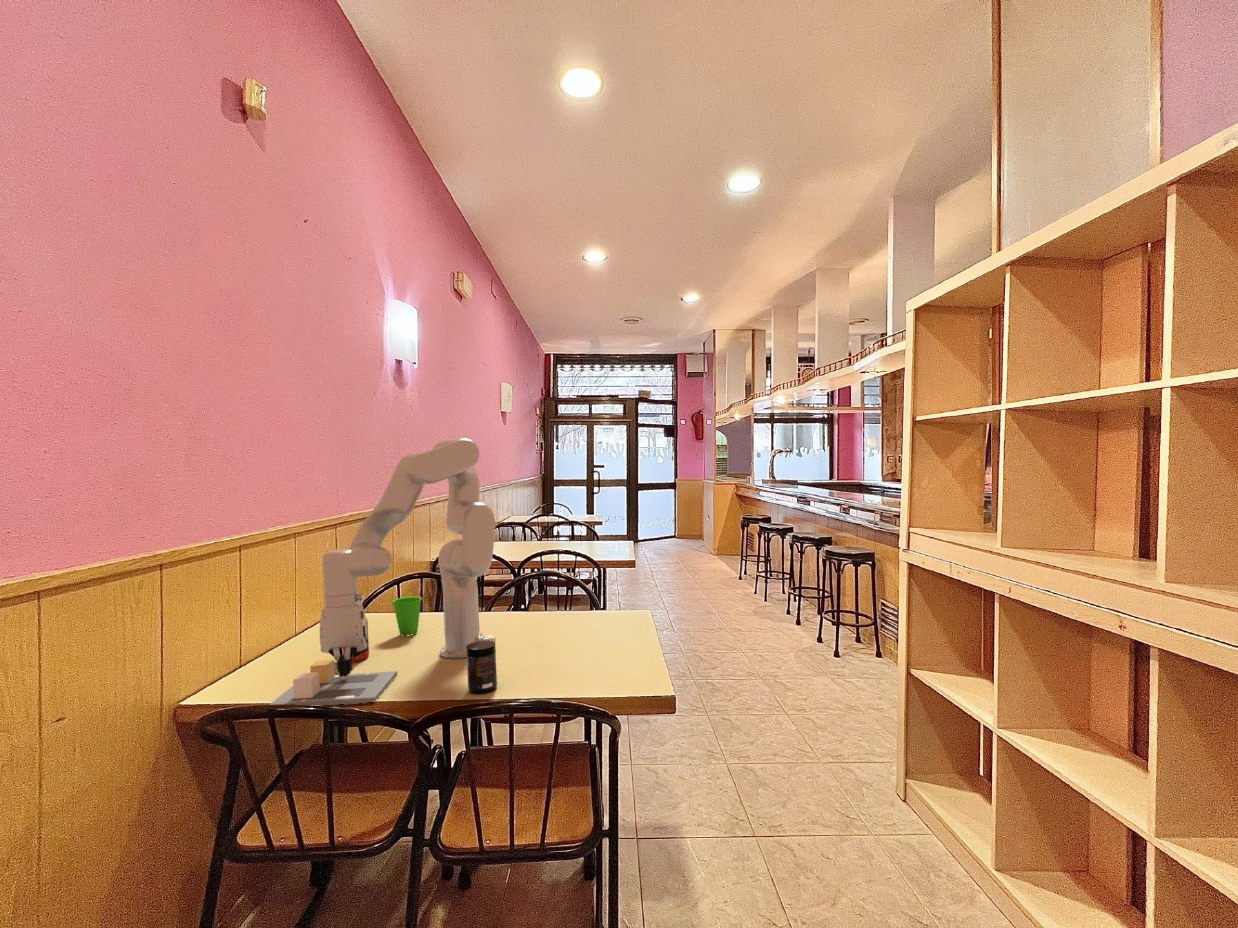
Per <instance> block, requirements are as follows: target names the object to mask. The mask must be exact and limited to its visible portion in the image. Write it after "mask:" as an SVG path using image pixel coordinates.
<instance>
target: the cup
mask: <svg viewBox="0 0 1238 928" xmlns="http://www.w3.org/2000/svg"><path fill="white" fill-rule="evenodd" d="M422 600H423V598H422V597H421V596H403V597H399V598H395V599H393V600H392V601H391V603H392V604H393V609H394V614H395V618H396V622H397V627H398V632H399V635H400V636H401V635H403V636H407V635H411V634H416V633H418V631H419V630H418V629H419V623H420V621H419V620H420V612H421V611H420V610H421V603H422ZM416 635H417V634H416ZM403 636H402V637H403ZM407 637H408V636H407Z"/></svg>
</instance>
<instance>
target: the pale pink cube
mask: <svg viewBox="0 0 1238 928" xmlns="http://www.w3.org/2000/svg"><path fill="white" fill-rule="evenodd" d="M292 681H293V682H292V683H293V685H294V699H300V698H313V697H314V696H315V695H316V694H317V693H318V692H319V691H320V684H319V672H314V673H311V672H304V673H299V674H298V675H297V676H296V677H294V678H293V680H292ZM293 685H292V686H293Z"/></svg>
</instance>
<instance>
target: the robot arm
mask: <svg viewBox="0 0 1238 928" xmlns="http://www.w3.org/2000/svg"><path fill="white" fill-rule="evenodd" d="M479 459H480V449H479V447H478V444H476V442H475V441H473V440H471V439H469V438H451V439H450V438H449V439H444V440H441V441H439V442H437V443H435V444H434V446H433V447H432V449H431V450H426V451H423V452H421V451H420V452H412V453H407V454H406V455H404V456H402V458H400V460H399V461H398V463H397V465H396V467H395V469H394V471H393V474H392V476H391V477H390V480H389V482H388V484H387V485H386V488H385V490H384V492H383V493H382V496H381V497H380V500H379V502H378V504H377V505H376V506H375V507H374V508H373V509H372V510H371V512H370V513H369V514H368V515H367V516H366V518H365V520H363V522H362V523H361V525H360V526H359V528H358V530H357V532H356V534H355V535H354V537H353V539H352V541H351V544H350V545H349V547H348V548H342V549H334V550H328V551H327V552H324V554H323V555H322V577H323V596H324V597H323V599H324V600H323V601H324V606H323V607H322V609H321V613H320V621H319V645H320V652H321V653H324V654H330V655H331V656H332V657H333V658H334V661H336V668H337V669H336V670H337V673H338V675H339V677H342V676H347V675H348V674H352V673H351V672H352V671H353V663H352V656H353V655H354V654H355V653H356V652H357V651H361V650H364V649H365V648H366V647H367V644H366V640H367V625H366V618H367V617H366V615H365V614H366V613H365V609H364V607H363V603H361V602H360V601H363V600H364V599H365V595H364V594H362V593H359V590H358V577H359V578H360V577H361V578H362V577H379V576H381V575H383V574H385V573H386V572H387V571H388V570H389V569H390V568H391V566H392V562H393V559H392V555H391V553H390V551H388V550H387V548H384V547H383V546H382V544H383V542H384V540H385V539H386V537H387V536H388V534H389V533H390V532H391V531H393V529H394V528H395V527H396V526H398V525H399V524H401V523H403V522H404V521H405V520H407V519H409V517H410V516H411V515H412V513H413V511H414V508H416V507H415V506H416V504H417V502H418V500H419V498H420V495H421V493H422V491H423V489H424V487H425V485H431V484H437V483H439V482H442V481H444V480H447V482H448V496H447V497H448V498H447V506H446V507H447V508H446V519H445V521H446V527H447V529H448V530H449V531H450V532H451V533H453V534H455V535H459V536H462V538H461V539H452V540H449V541H447V542H446V543H444V544H443V545H442V546H441V548H440V550H439V552H438V557H437V559H438V568H439V572H440V577H441V584H442V598H443V599H442V602H443V603H442V605H443V623H444V624H443V625H444V627H443V628H444V640H445V642H444V643H445V645H444V646H442V647H441V648H440V649H439V655H440V656H441V657H443V658H446V659H447V658H448V659H461V658H462V659H463V658H464V659H465V658H467V654H466V646H467V645H468V644H470V643H473V642H478V641H492V642H495V644H497V643H496V641H497V639H496V636H493V635H487V636H485V635H483V631H480V615H479V613H480V612H479V610H480V609H479V591H478V590H479V589H478V588H479V587H478V581H477V578H479V577H482V576H483V575H485V574H486V573H487V572H488V571H489V569H490V567H491V565H492V562H493V554H494V544H495V533H496V532H495V531H496V517H495V514H494V512H493V509H492V508H491V507H490V506H488V504H486V503H484V502H480V478H479V474H478V473H477V471H476V468H475V466H476V464H477V463H478V461H479ZM365 617H366V618H365ZM345 647H346V649H345V657H344V652H343V648H345Z"/></svg>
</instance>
